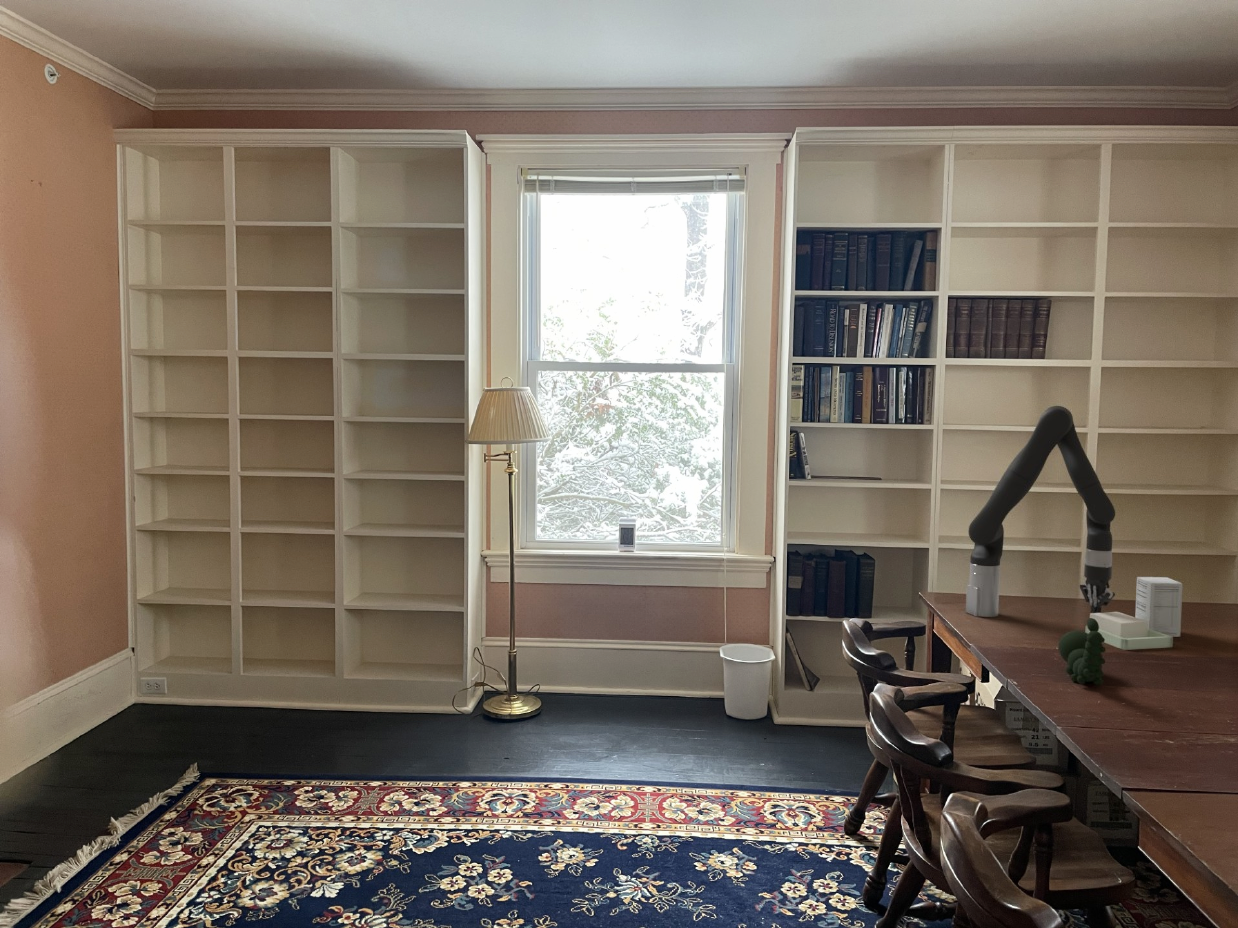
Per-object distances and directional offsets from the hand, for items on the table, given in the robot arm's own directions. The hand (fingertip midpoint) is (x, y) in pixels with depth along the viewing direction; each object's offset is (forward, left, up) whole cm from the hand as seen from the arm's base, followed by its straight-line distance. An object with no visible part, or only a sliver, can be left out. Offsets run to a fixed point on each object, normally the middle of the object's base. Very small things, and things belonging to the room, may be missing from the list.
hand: (1095, 617), depth 270 cm
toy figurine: (-38, -41, -4) cm, 56 cm away
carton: (+2, -8, -4) cm, 9 cm away
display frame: (0, -14, -4) cm, 14 cm away
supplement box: (+16, -7, -4) cm, 18 cm away
